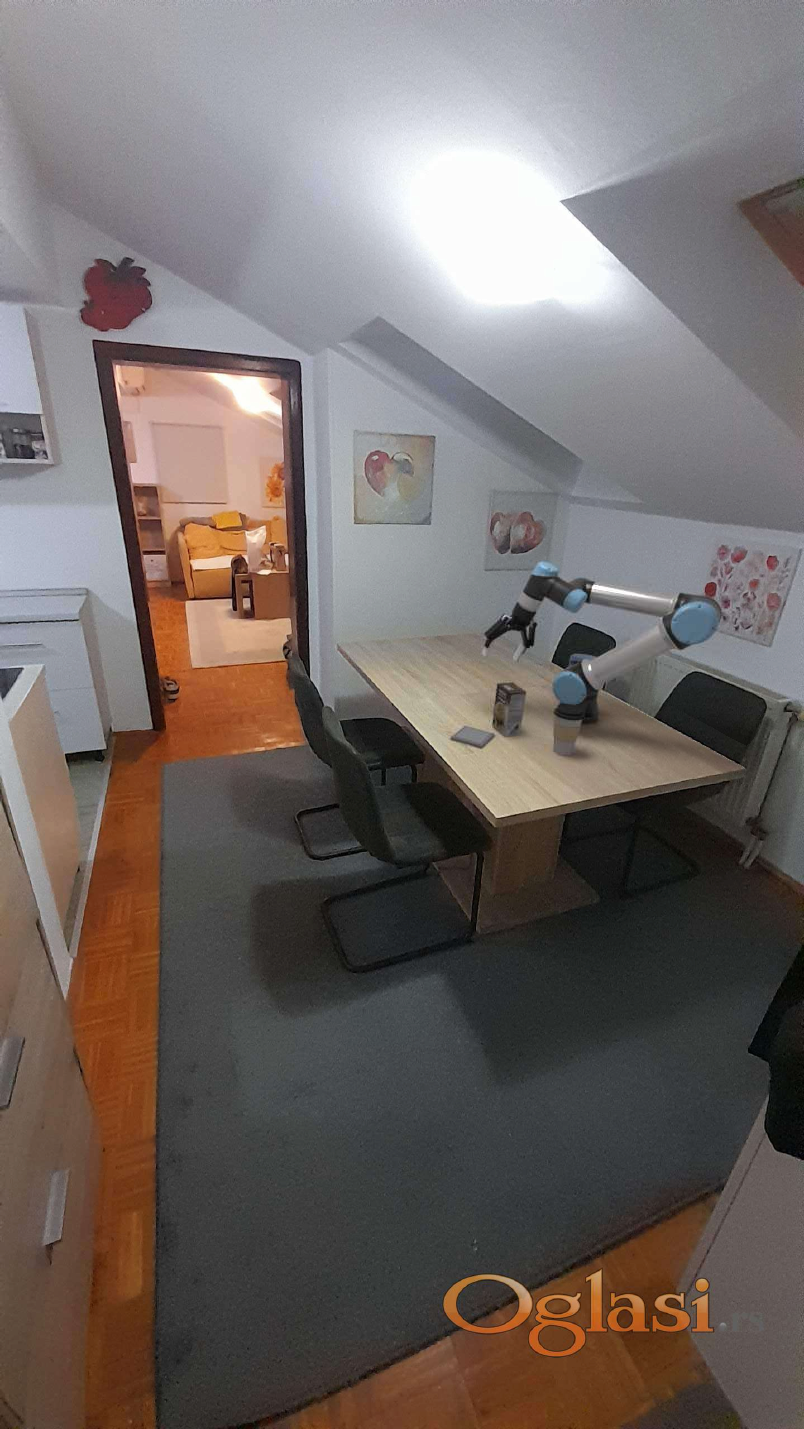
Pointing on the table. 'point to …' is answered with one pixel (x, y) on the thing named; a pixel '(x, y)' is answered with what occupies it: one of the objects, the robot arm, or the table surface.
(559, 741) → the coffee cup
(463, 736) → the tray
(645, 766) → the table surface
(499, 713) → the coffee box
